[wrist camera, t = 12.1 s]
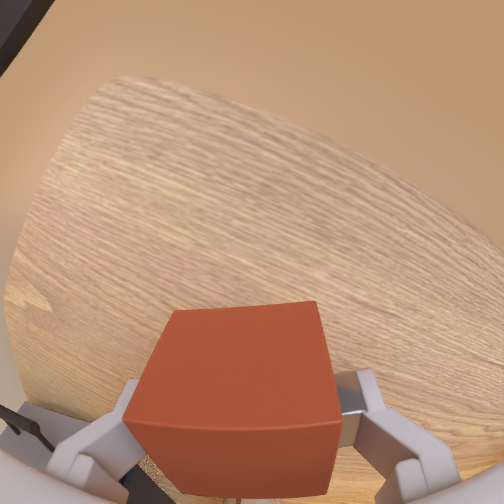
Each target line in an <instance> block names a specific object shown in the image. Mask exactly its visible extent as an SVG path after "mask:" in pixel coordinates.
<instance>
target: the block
mask: <svg viewBox="0 0 504 504" xmlns="http://www.w3.org/2000/svg"><path fill="white" fill-rule="evenodd" d="M122 421H123V422H124V424H125V425H126V426H127V428H128V429H129V431H130V432H131V433H132V435H133V436H134V437H135V439H136V440H137V441H138V443H139V444H140V445H141V447H142V448H143V449H144V450H145V452H146V453H147V454H148V455H149V457H150V458H151V459H152V460H153V461H154V463H155V464H156V465H157V466H158V467H159V469H160V470H161V471H162V472H163V473H164V474H165V475H166V477H167V478H168V479H169V480H170V481H171V482H172V483H173V484H174V485H175V486H176V487H177V488H178V490H179V491H180V492H181V493H183V494H189V495H197V496H206V497H218V498H234V499H282V498H298V497H309V496H319V495H325V494H326V493H327V490H328V487H329V483H330V479H331V475H332V471H333V467H334V463H335V458H336V454H337V450H338V445H339V440H340V435H341V430H342V425H343V416H342V411H341V407H340V402H339V397H338V392H337V388H336V383H335V378H334V374H333V370H332V365H331V361H330V356H329V352H328V348H327V344H326V340H325V335H324V331H323V327H322V323H321V319H320V315H319V311H318V308H317V304H316V301H306V302H296V303H285V304H273V305H261V306H248V307H233V308H217V309H199V310H176V311H174V312H173V314H172V316H171V318H170V320H169V321H168V323H167V325H166V327H165V329H164V331H163V333H162V335H161V337H160V339H159V341H158V343H157V345H156V347H155V349H154V351H153V353H152V355H151V357H150V359H149V361H148V363H147V365H146V368H145V370H144V372H143V374H142V376H141V378H140V380H139V382H138V384H137V386H136V388H135V390H134V393H133V395H132V397H131V399H130V401H129V403H128V405H127V408H126V410H125V412H124V414H123V416H122Z"/></svg>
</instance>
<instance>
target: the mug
mask: <svg viewBox="0 0 504 504" xmlns="http://www.w3.org/2000/svg"><path fill="white" fill-rule="evenodd" d="M223 504H281V499H234V498H224V501H223Z"/></svg>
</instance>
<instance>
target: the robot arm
mask: <svg viewBox="0 0 504 504" xmlns="http://www.w3.org/2000/svg"><path fill="white" fill-rule="evenodd" d="M334 378H335V383H336V388H337V392H338V397H339V402H340V407H341V411H342V416H343V425H342V430H341V435H340V440H339V445H338V448H341V447H348V446H353V447H354V448H355V449H356V450H357V451H358V452H359V453H360V454H361V455H362V456H363V457H364V458H365V459H366V460H367V461H368V462H369V463H370V464H371V465H372V466H373V467H374V468H375V469H376V470H377V471H378V472H379V473H380V474H381V475H382V476H383V477H384V478H385V479H386V482H385V483H384V484H383V486H382V487H381V489H380V490H379V491H378V493H377V494H376V496H375V503H376V504H504V459H503V460H501V461H499V462H498V463H496V464H494V465H492V466H491V467H489V468H487V469H485V470H483V471H481V472H480V473H478V474H476V475H474V476H472V477H470V478H468V479H466V480H463V481H462V480H461V477H460V475H459V472H458V469H457V466H456V464H455V461H454V458H453V456H452V453H451V451H450V448H449V446H448V444H446V443H445V442H443V441H441V440H440V439H438V438H437V437H435V436H434V435H432V434H431V433H429V432H428V431H426V430H425V429H423V428H422V427H420V426H419V425H417V424H416V423H414V422H413V421H411V420H410V419H408V418H407V417H405V416H404V415H402V414H401V413H399V412H398V411H396V410H395V409H394V408H392V407H388V408H386V405H385V402H384V399H383V397H382V394H381V391H380V388H379V385H378V383H377V380H376V377H375V375H374V372H373V370H372V369H371V368H367V369H361V370H355V371H349V372H342V373H336V374H334ZM139 380H140V379H139V378H130V379H129V380H128V381H127V383H126V385H125V387H124V389H123V391H122V393H121V395H120V397H119V398H118V400H117V402H116V404H115V406H114V408H113V410H112V412H111V413H110V412H107V413H106V414H104V415H103V416H101V417H100V418H98V419H96V420H95V421H93V422H92V423H90V424H89V425H87V426H86V427H84V428H83V429H81V430H79V431H78V432H76V433H75V434H73V435H71V436H70V437H68V438H67V439H65V440H63V441H62V442H60V443H59V444H58V445H57V447H56V448H55V450H54V452H53V454H52V456H51V458H50V460H49V462H48V464H47V465H46V467H45V469H44V471H43V472H41V471H39V470H37V469H35V468H34V467H32V466H30V465H28V464H26V463H25V462H23V461H21V460H20V459H18V458H16V457H15V456H13V455H11V454H10V453H8V452H7V451H5V450H3V449H2V448H0V504H126V502H127V498H128V495H129V492H128V490H127V489H126V488H125V487H123V486H122V485H121V484H120V483H119V482H118V481H119V480H120V479H121V478H122V477H123V476H124V475H125V474H126V473H127V472H128V471H129V470H131V469H132V468H133V467H134V466H135V465H136V464H137V463H138V462H139V461H140V460H141V459H142V458H143V457H144V456H145V455H146V454H147V453H146V452H145V450H144V449H143V448H142V447H141V445H140V444H139V443H138V441H137V440H136V439H135V437H134V436H133V435H132V433H131V432H130V431H129V429H128V428H127V426H126V425H125V424H124V422H123V421H122V416H123V414H124V412H125V410H126V408H127V405H128V403H129V401H130V399H131V397H132V395H133V393H134V390H135V388H136V386H137V384H138V382H139Z"/></svg>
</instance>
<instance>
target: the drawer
mask: <svg viewBox="0 0 504 504" xmlns="http://www.w3.org/2000/svg"><path fill="white" fill-rule="evenodd" d="M0 418H2V419H3V420H4V421H5V422H6V423H7V425H8V426H7V427H6V429H5V430H4V431H3V433H2V434H1V436H0V448H2V449H3V450H5V451H7V452H8V453H10V454H11V455H13V456H15V457H16V458H18V459H20V460H21V461H23V462H25V463H26V464H28V465H30V466H32V467H34V468H35V469H37V470H39V471H41V472H43V471H44V469H45V467H46V465H47V464H48V462H49V460H50V458H51V456H52V454H53V452H54V450H55V448H56V447H57V445H58V444H59V443H60V442H62V441H63V440H65V439H67V438H68V437H70V436H71V435H73V434H75V433H76V432H78V431H79V430H81V429H83V428H84V427H86V426H87V425H89V424H90V423H89V422H86V421H82V420H79V419H75V418H72V417H69V416H65V415H62V414H59V413H56V412H53V411H50V410H48V409H45V408H42V407H39V406H37V405H34V404H31V403H29V402H26V401H25V402H24V404H23V405H22V406H21V408H20V409H19V410H18V412H17V413H15V412H14V411H12V410H10V409H8V408H5V407H4V406H2V405H0ZM127 473H128V472H127ZM127 473H126V474H125V475H124V476H123V477H122V478H121V479H120V480H119V481H118V482H119V483H120V484H121V485H122V486H123V483H124V481H125V478H126V476H127Z"/></svg>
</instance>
